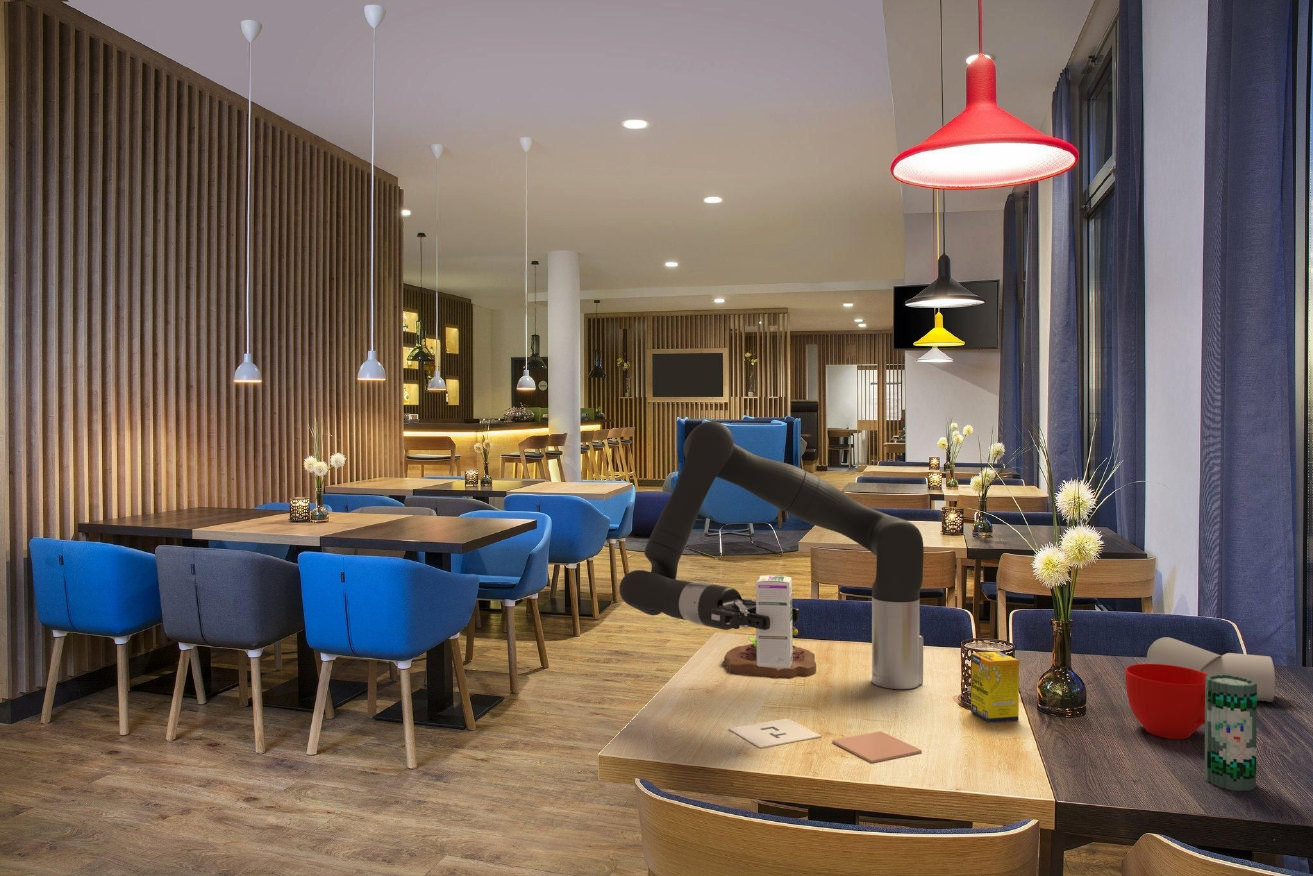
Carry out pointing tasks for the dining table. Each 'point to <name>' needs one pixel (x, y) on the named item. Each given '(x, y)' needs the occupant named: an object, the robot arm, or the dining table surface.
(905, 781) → the dining table surface
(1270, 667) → the elbow connector
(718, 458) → the robot arm
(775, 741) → the white square plate
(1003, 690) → the supplement box
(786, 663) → the syrup box
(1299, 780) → the dining table surface
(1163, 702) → the ceramic cup
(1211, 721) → the can
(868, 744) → the coaster
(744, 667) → the plant
